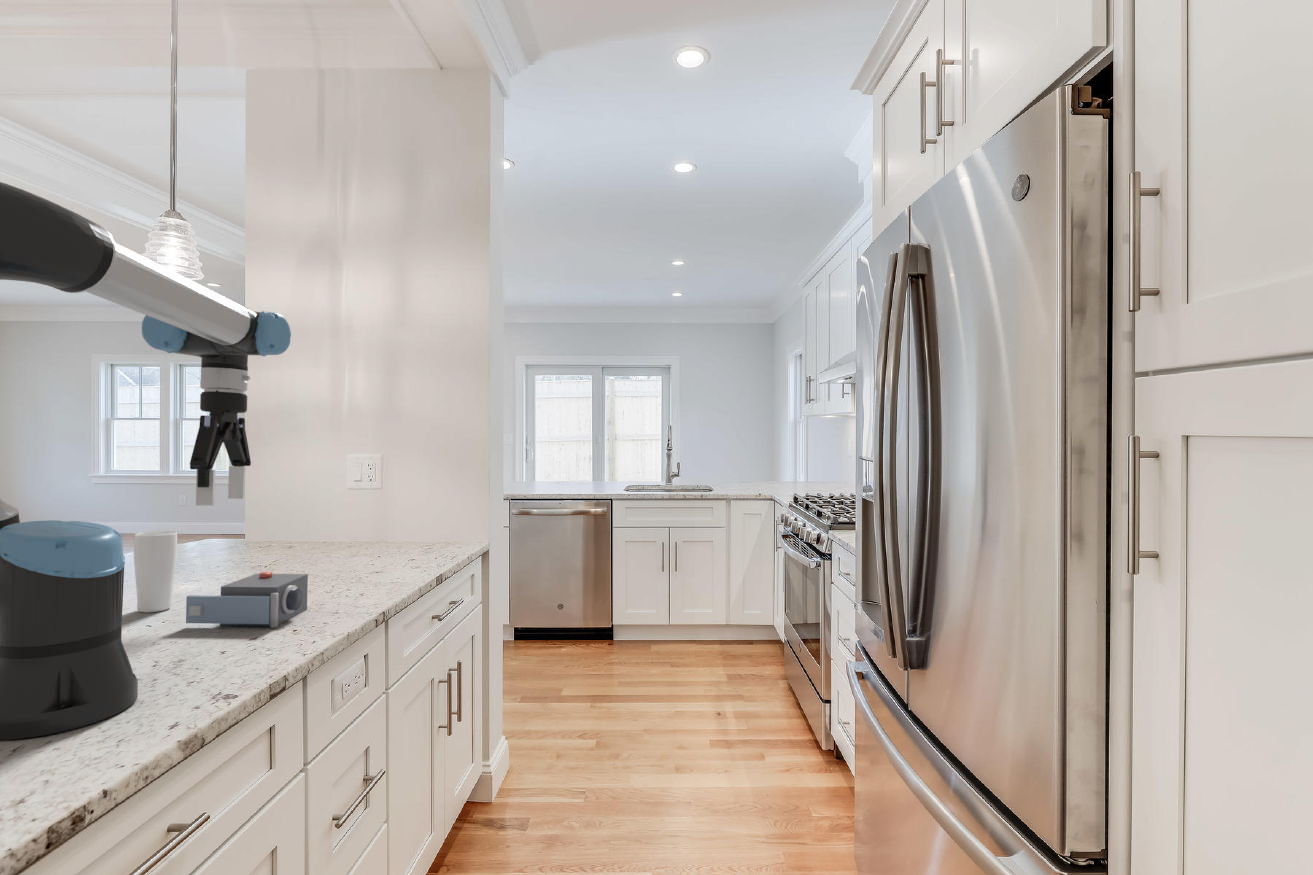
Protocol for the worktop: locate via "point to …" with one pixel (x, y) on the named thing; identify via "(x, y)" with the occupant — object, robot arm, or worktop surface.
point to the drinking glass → (155, 569)
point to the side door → (232, 609)
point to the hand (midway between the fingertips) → (221, 501)
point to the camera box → (265, 583)
